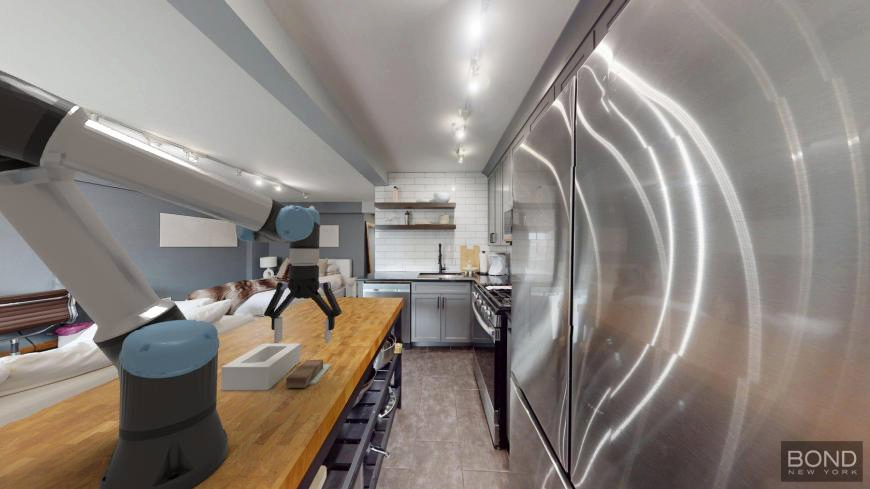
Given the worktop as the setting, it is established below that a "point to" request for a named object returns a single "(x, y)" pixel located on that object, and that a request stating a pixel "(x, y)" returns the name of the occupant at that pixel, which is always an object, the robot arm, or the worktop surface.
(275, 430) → the worktop surface
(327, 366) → the sage mat
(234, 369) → the pocket block
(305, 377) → the walnut bar
